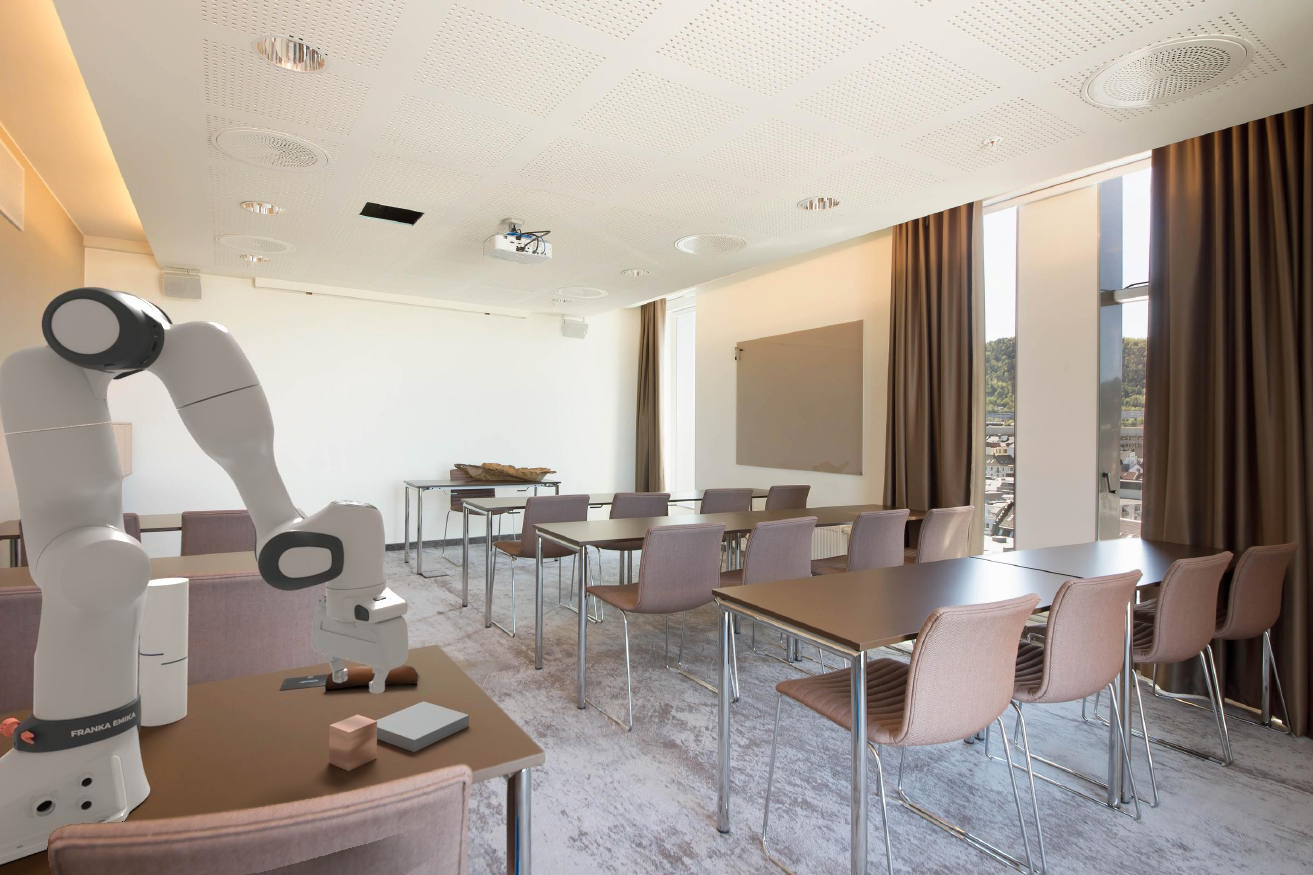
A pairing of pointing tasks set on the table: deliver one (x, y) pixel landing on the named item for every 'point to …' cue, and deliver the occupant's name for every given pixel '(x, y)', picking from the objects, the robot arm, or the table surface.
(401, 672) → the sunglasses case
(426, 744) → the slate base
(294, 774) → the table surface
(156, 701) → the cylindrical container
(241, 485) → the robot arm
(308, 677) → the solid state drive
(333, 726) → the terracotta block
